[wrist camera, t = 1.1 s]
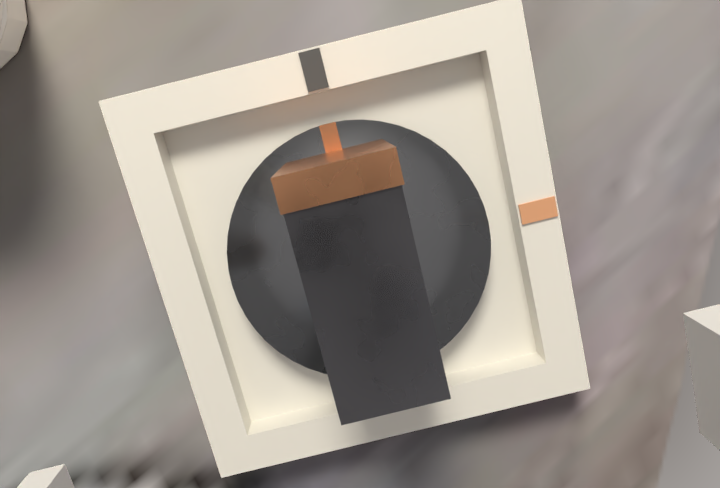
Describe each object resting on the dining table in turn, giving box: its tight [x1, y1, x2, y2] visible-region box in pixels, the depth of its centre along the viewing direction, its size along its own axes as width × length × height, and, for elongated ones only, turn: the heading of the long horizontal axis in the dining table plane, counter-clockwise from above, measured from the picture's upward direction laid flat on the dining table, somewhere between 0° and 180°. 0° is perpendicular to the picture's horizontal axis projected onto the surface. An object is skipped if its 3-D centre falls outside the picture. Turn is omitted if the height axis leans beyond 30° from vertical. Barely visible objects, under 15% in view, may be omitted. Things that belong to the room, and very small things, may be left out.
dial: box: [227, 119, 491, 425], centre depth 28 cm, size 13×13×9 cm
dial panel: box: [99, 0, 590, 478], centre depth 32 cm, size 20×20×3 cm
